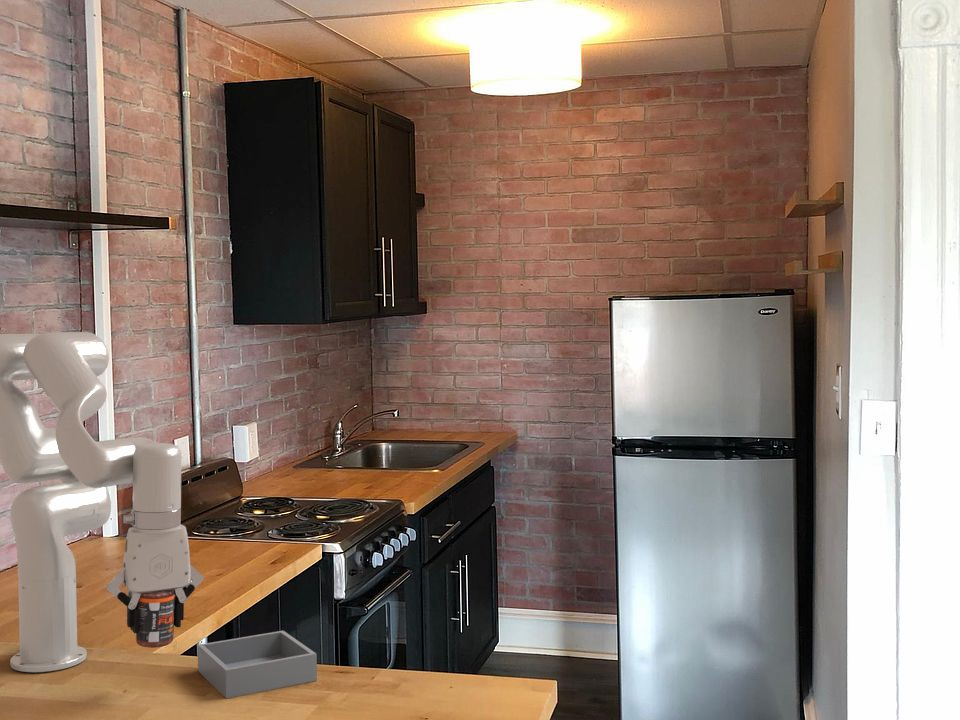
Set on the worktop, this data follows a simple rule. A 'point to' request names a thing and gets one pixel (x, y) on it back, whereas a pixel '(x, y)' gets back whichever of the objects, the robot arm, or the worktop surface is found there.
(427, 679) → the worktop surface
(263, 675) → the bin
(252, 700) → the worktop surface
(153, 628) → the supplement bottle
